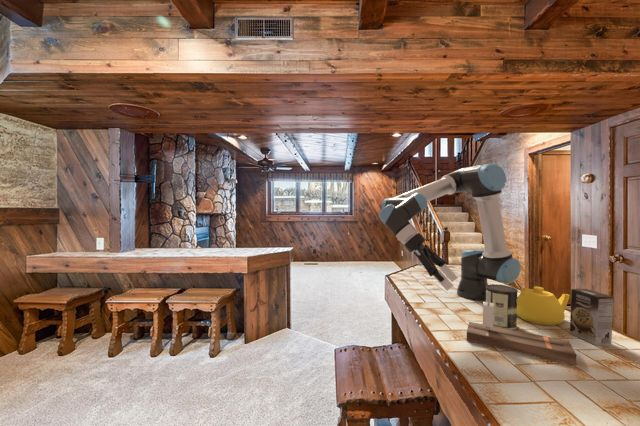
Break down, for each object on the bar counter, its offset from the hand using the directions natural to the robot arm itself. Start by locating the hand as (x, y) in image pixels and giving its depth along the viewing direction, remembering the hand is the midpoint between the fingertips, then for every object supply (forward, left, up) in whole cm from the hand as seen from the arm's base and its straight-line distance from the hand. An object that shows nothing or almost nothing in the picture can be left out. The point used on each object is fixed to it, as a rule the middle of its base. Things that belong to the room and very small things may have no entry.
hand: (453, 283), depth 104 cm
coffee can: (-17, +15, -18) cm, 29 cm away
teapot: (-34, +29, -18) cm, 48 cm away
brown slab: (0, +19, -17) cm, 26 cm away
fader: (0, +11, -14) cm, 18 cm away
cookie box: (-19, +41, -18) cm, 49 cm away
